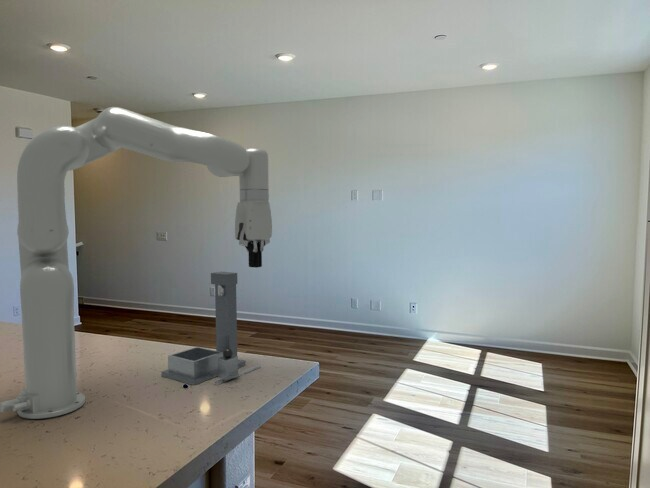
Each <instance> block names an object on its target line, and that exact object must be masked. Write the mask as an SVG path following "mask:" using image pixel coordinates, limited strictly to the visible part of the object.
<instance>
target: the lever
mask: <svg viewBox="0 0 650 488" xmlns="http://www.w3.org/2000/svg"><path fill="white" fill-rule="evenodd" d="M238 359H239V356H238V355H237V356H235V355H233V351H232V350H231V349H230V348H227V349H225V350H224V351H223V357H220V358H218V376H217V378H218V379H219V380H221V379H223V380H228V381H230V380H229V379H231V380H233V379H235V378H234V377H236V378H238V377H239V376H238V373H239V368H238ZM237 376H238V377H237ZM232 378H233V379H232Z"/></svg>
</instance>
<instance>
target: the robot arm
mask: <svg viewBox="0 0 650 488" xmlns="http://www.w3.org/2000/svg"><path fill="white" fill-rule="evenodd" d="M121 148H122V149H125V150H128V151H132V152H135V153H138V154H142V155H147V156H148V157H152V158H155V159H158V160H161V161H165V162H172V163H173V162H174V163H191V164H196V165H197V164H199V165H203V166H205V167H206V168H207V170H208V171H209V172H210V174H211V175H213V176H216V177H218V178H229V177H230V178H231V177H238V178H239V183H238V184H239V202H237V204H236V210H235V219H234V220H235V221H234V237H235V240H237V241H238V244H239V246H243V247H244V248H245V249H246V252H247V253H248V267H249V268H256V269H258V268H261V267H262V266H263V263H262V262H263V258H262V257H263V256H262V255H263V254H262V252H263V251H264V248H265V246H266V245H268V244H269V243H270V241H271V240H270V239H271V238H272V235H273V221H272V220H273V219H272V212H271V211H272V210H271V205H270V199H269V197H270V194H269V186H270V185H269V155H268V154H269V153H268V152H267V150H264V149H263V148H262V149H261V148H245V147H244V146H242V145H241V144H239V143H238V142H235V141H232V140H230V139H226V138H224V137H221V136H218V135H215V134H212V133H208V132H203V131H200V130H194V129H191V128H187V127H184V126H183V127H181V126H176V125H173V124H170V123H168V122H167V123H166V122H165V121H162V120H158V119H156V118H152V117H151V116H150V117H149V116H146V115H144V114H141V113H138V112H136V111H132V110H129V109H126V108H124V107H123V108H122V107H120V106H119V107H118V106H111V107H110V106H109V107H107V108H105V109H103V110H102V111H101V112H100V113H99V114H98V116H97V117H95V118H93V119H91V120H89V121H87V122H84V123H83V124H80V125H77V126H75V127H74V126H71V125H57V126H54V127H50V128H48V129H45V130H44V131H42V132H40V133H39V134H37V135H36V136H35V137H33V138H32V139H30V141H29V142H28V144H27V145H26V146H25V148H24V149H23V151H22V153H21V154H20V157H19V161H18V165H17V172H16V182H17V183H16V186H17V187H16V189H17V213H18V223H17V230H16V231H17V233H16V234H17V239H18V250H19V251H18V254H19V264H20V265H19V267H20V282H19V297H20V310H21V326H22V327H21V328H22V329H21V330H22V345H23V347H22V348H23V365H24V366H23V367H24V368H23V369H24V388H25V389H23V390H20V391H19V395H17V396H15V398H14V399H8V400H5V401H2V402H0V413H5V412H8V411H10V410H11V411H12V412H17V415H18V416H19V417H20V418H24V419H27V420H28V419H31V420H36V419H37V420H39V419H49V418H56V417H59V416H63V415H66V414H69V413H71V412H74V411H76V410H79V409H80V408H81V407H83V405H84V404H85V403H86V396H85V394H84V393H82V392H78V386H77V383H78V382H77V359H76V356H77V355H76V335H75V334H76V333H75V308H74V307H75V282H74V279H73V276H72V273H71V271H70V267H69V253H68V237H69V226H68V223H67V221H68V220H67V211H66V202H65V197H66V191H65V189H66V188H65V179H66V176H67V173H68V172H69V171H70V172H71V171H74V170H77V169H79V168H81V167H84V166H86V165H89V164H91V163H93V162H95V161H97V160H99V159H101V158H104V157H106V156H108V155H110V154H112V153H115V152H116V151H118V150H120V149H121Z"/></svg>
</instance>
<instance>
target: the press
mask: <svg viewBox="0 0 650 488" xmlns="http://www.w3.org/2000/svg"><path fill="white" fill-rule="evenodd" d="M210 285H214V294H215V295H214V297H215V298H214V299H215V301H214V302H215V305H214V306H215V347H216V348H215V349H210V348H205V347H201V346H195V347H191V348H189V349H185V350H182V351H178V352H176V353H173V354H169V355H167V365H168V366H167V369H165V370H163V371H161V377H163V378H167V379H169V380H170V379H171V380H174V381H177V382H182V383H185V384H188V385H192V386H196V385H198V384H200V383H203V382H206V381H208V380H212V379H214V378H216V377H217V378H218V358H220V357H223V351H224V350H225V349H227V348H230V349H231V350H232V351H233V355H235V356H238V325H237V324H238V321H237V319H238V317H237V314H238V313H237V309H238V308H237V307H238V306H237V285H238V272H233V271H232V272H229V271H218V272H217V271H216V272H211V273H210ZM246 364H247V363H246V360H244V359H239V358H238V369H239V368H242V367H245V366H247V365H246ZM261 367H262V365H260V364H257V365H253V366H251V367H249V368H245V369H244V370H241V371H238V376H237V377H234V378H232V379H229V380H223V379H219V380H217V381H213V385H215V386H218V385H220V384H223V383H225V382H228V381H230V380H234V379H236V378H238V377H241V376H243V375H246V374H247V373H250V372H253V371H255V370H258V369H260V368H261Z"/></svg>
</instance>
